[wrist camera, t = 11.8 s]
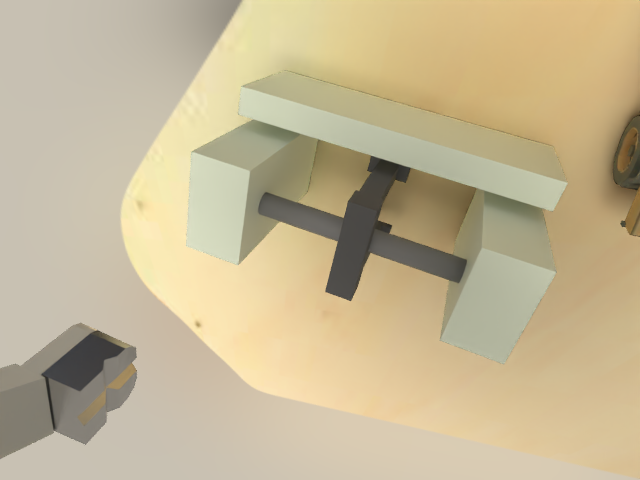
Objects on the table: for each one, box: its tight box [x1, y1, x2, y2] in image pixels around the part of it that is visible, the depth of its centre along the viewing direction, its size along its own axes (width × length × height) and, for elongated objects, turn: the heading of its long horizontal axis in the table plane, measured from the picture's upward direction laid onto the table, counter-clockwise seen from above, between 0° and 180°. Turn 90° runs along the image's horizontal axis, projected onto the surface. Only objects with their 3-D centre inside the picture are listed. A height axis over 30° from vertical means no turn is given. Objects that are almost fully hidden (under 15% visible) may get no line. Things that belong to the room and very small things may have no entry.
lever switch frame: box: [186, 71, 568, 364], centre depth 33 cm, size 22×10×14 cm, turn 78°
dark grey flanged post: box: [325, 156, 410, 301], centre depth 32 cm, size 3×7×9 cm, turn 168°
